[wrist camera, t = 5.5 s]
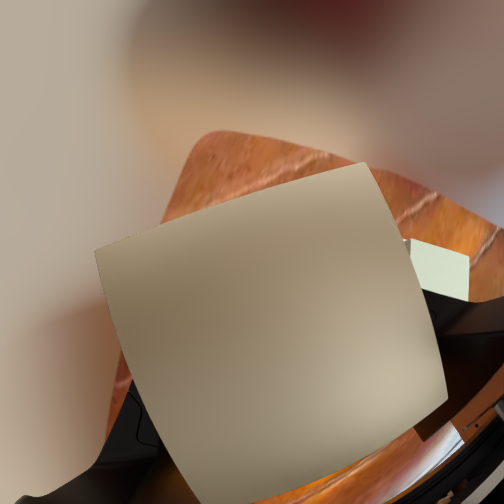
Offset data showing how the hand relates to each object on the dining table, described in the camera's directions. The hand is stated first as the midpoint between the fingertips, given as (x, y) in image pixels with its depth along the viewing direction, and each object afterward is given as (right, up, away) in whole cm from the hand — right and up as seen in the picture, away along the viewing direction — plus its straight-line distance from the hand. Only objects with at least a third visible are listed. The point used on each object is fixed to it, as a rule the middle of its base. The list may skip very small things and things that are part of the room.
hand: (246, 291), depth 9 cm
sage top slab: (+16, -3, +13) cm, 21 cm away
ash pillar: (0, -3, +6) cm, 7 cm away
